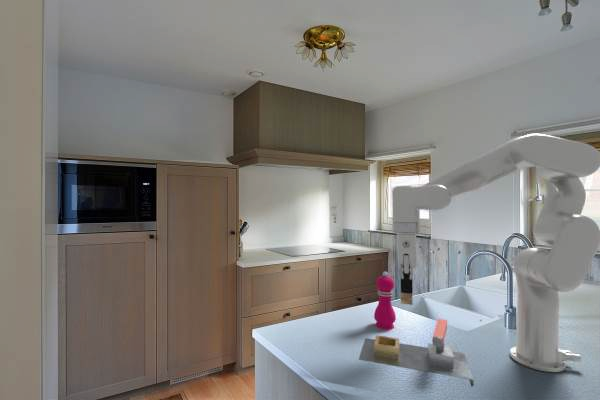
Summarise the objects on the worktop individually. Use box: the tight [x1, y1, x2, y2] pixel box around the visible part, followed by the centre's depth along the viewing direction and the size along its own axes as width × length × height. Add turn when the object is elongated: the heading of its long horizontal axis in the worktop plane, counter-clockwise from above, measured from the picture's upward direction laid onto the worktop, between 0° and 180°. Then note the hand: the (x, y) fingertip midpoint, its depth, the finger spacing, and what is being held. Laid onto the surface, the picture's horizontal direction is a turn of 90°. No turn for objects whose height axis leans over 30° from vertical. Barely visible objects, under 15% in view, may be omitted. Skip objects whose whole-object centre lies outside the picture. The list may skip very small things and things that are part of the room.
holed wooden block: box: [374, 334, 400, 360], centre depth 91 cm, size 7×7×3 cm
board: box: [358, 337, 475, 385], centre depth 89 cm, size 28×14×4 cm, turn 71°
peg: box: [400, 266, 413, 306], centre depth 93 cm, size 3×3×12 cm
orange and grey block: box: [431, 318, 448, 352], centre depth 86 cm, size 15×3×6 cm, turn 151°
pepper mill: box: [373, 271, 397, 331], centre depth 110 cm, size 7×7×20 cm
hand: (406, 290), depth 93 cm, fingers closed on peg, 3 cm apart
